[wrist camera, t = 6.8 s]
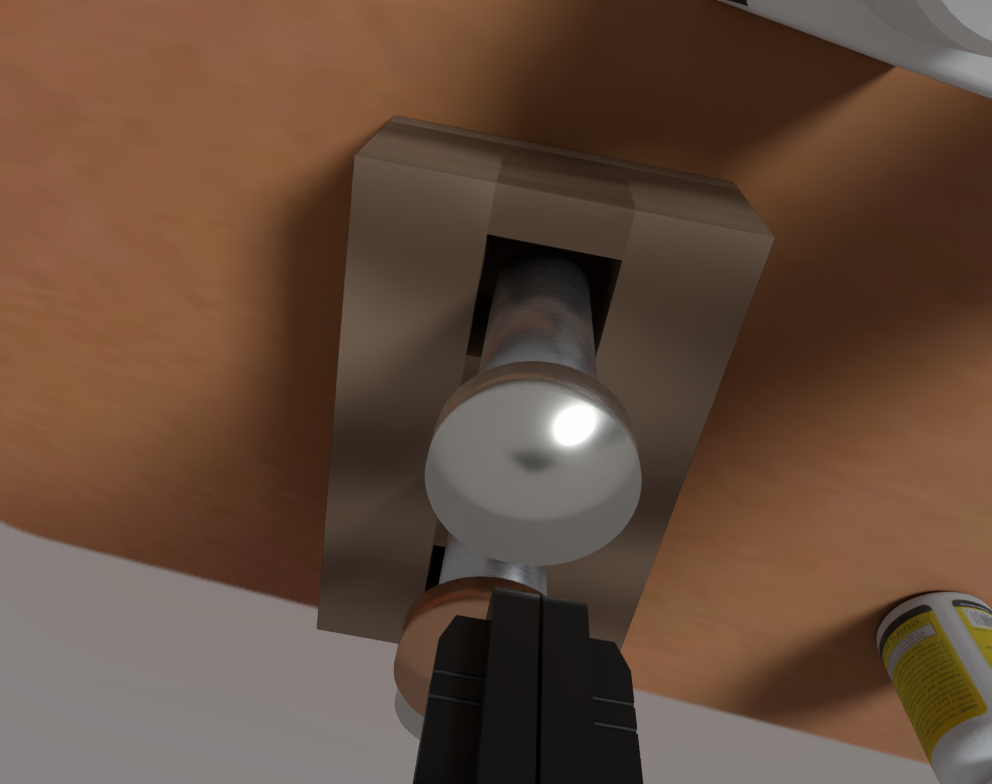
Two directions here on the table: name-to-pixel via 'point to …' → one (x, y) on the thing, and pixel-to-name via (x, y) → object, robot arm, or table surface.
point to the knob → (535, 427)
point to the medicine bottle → (899, 33)
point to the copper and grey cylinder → (453, 611)
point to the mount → (462, 329)
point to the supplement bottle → (944, 680)
